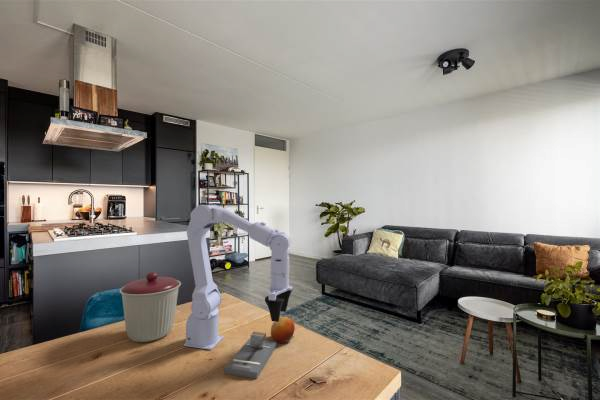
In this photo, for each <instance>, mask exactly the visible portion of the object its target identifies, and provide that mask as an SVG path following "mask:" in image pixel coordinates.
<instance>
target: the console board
mask: <svg viewBox="0 0 600 400" xmlns="http://www.w3.org/2000/svg"><path fill="white" fill-rule="evenodd" d="M250 339H251V337H249V338H248V339H247V340H246V342H245V343H244V344H243V346H242V347H241V348H240V349H239V350H238V352H237V353H236V354H234V356H233V357H232V358H231V360H230V361H228V363H227V365H225V366H224V374H226V375H233V376H239V377H246V378H251V379H256V380H257V379H258V378H259V376H260V375H261V373H262V371H263V369H264V368H265V366H266V364H267V363H268V361H269V360H270V358H271V356H272V355H273V353H274V351H275V349H276V348H277V342H276V341H275V340H274V341H273V340H267V339H266V345H265V346H264V348H257V347H250Z"/></svg>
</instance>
